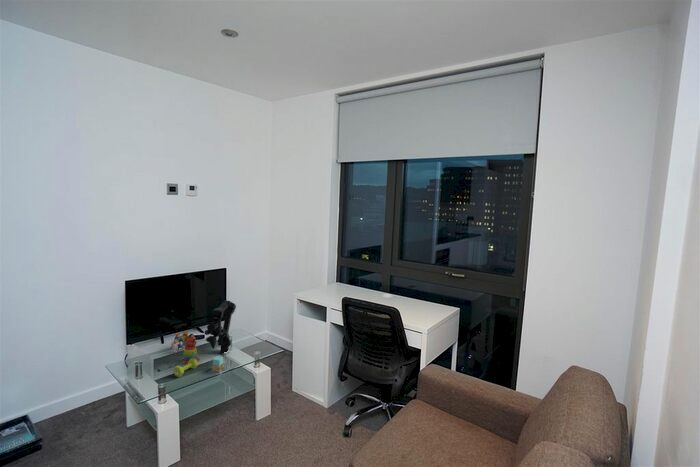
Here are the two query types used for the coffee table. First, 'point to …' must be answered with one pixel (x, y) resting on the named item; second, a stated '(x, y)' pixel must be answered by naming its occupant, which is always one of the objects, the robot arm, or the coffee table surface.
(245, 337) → the coffee table surface
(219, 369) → the walnut brick
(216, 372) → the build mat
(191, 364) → the dumbbell
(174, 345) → the doll family
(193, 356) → the stacking bear
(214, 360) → the teal brick
